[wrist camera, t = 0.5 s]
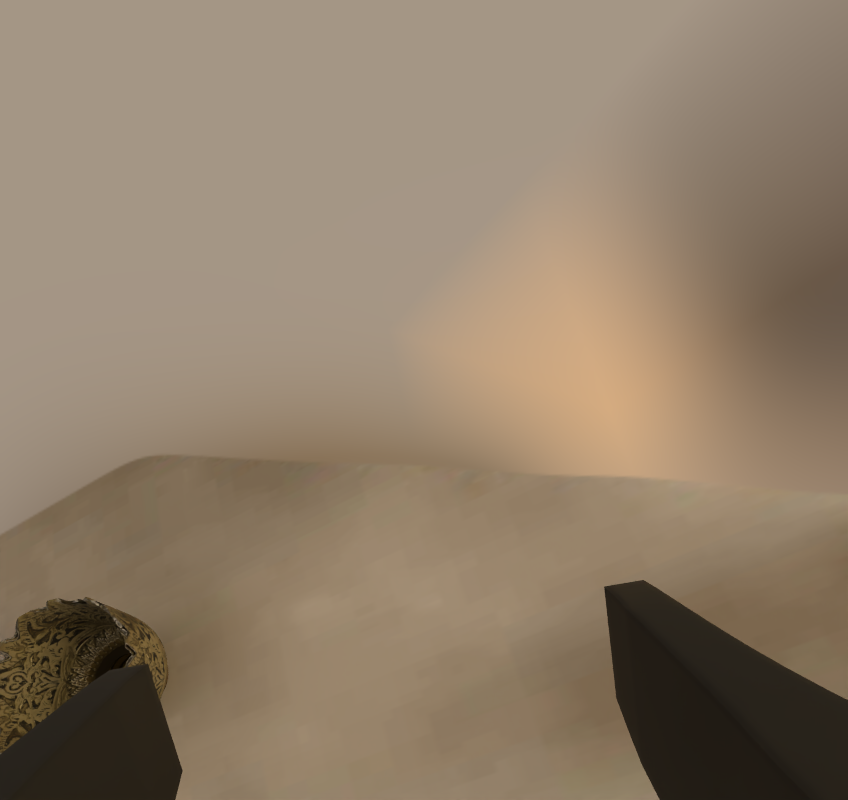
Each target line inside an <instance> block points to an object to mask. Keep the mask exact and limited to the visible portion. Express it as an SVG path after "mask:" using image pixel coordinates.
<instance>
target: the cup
mask: <svg viewBox="0 0 848 800" xmlns="http://www.w3.org/2000/svg"><path fill="white" fill-rule="evenodd" d="M15 629H16V633H15V635H14V637H12V638H11V639H9V638H8V639H5V640H3V641H1V642H0V654H2V655H3V656H4V657H5V659H3V660H0V754H1V753H2V752H4V751H5V750H6V749H7V748H9V747H10V746H11V745H12V744H14V743H15V742H16V741H17V740H19V739H20V738H21V737H22V736H24V735H25V734H26V733H27V732H29V731H30V730H31V729H32V728H34V727H35V726H36V725H37V724H39V723H40V722H41V721H42V720H44V719H45V718H46V717H48V716H49V715H50V714H51V713H53V712H54V711H55V710H56V709H58V708H59V707H60V706H61V705H63V704H64V703H65V702H66V701H68V700H69V699H70V698H72V697H73V696H74V695H76V694H77V693H78V692H79V691H81V690H82V689H83V688H85V687H86V686H87V685H89V684H90V683H92V682H93V681H94V680H96V679H97V678H99V677H100V676H102V675H103V674H105V673H106V672H108V671H109V670H113V669H119V668H125V667H131V666H137V665H143V664H148V665H149V668H150V671H151V674H152V678H153V681H154V684H155V687H156V690H157V693H158V696H159V699H160V698H161V695H162V693H163V691H164V689H165V687H166V684H167V680H168V665H167V658H166V654H165V650H164V647H163V645H162V643H161V641H160V639H159V638H158V636H157V635H156V633H155V632H154V631H153V630H152V629H151V628H150V627H149V626H147V625H146V624H145V623H143V622H142V621H140V620H139V619H137V618H135V617H133V616H131V615H129V614H127V613H124V612H122V611H119V610H117V609H114V608H112V607H109V606H107V605H104V604H102V603H99V602H97V601H95V600H93V599H90V598H87V597H85V598H84V599H83V600H80V599H78V600H76V601H65V600H62V599H53V600H49V601H47V602H46V607H43V608H38V609H34V610H32V611H30V612H27V613H26V614H24V615H22V616H20V617H19V618H18V619H17V622H16V628H15ZM3 653H4V654H5V655H7V656H8V657H7V658H6V656H5V655H4V654H3Z"/></svg>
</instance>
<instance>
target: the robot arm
mask: <svg viewBox="0 0 848 800" xmlns="http://www.w3.org/2000/svg"><path fill="white" fill-rule="evenodd" d="M604 588H605V598H606V607H607V616H608V625H609V634H610V643H611V653H612V662H613V671H614V680H615V689H616V698H617V701H618V704H619V706H620V709H621V712H622V714H623V717H624V720H625V722H626V725H627V728H628V730H629V733H630V736H631V738H632V741H633V743H634V746H635V748H636V751H637V753H638V756H639V758H640V761H641V764H642V766H643V767H644V769H645V771H646V773H647V775H648V777H649V779H650V781H651V783H652V785H653V787H654V789H655V791H656V793H657V795H658V797H659V799H660V800H848V700H846V699H844V698H842V697H840V696H838V695H836V694H834V693H832V692H830V691H829V690H827V689H825V688H823V687H821V686H819V685H817V684H816V683H814V682H812V681H810V680H808V679H806V678H804V677H802V676H801V675H799V674H797V673H795V672H793V671H791V670H789V669H788V668H786V667H784V666H782V665H780V664H779V663H777V662H775V661H773V660H772V659H770V658H768V657H766V656H765V655H763V654H761V653H759V652H758V651H756V650H754V649H753V648H751V647H749V646H748V645H746V644H744V643H743V642H741V641H739V640H738V639H736V638H734V637H733V636H731V635H729V634H728V633H726V632H724V631H723V630H721V629H720V628H718V627H716V626H715V625H713V624H712V623H710V622H708V621H707V620H705V619H704V618H702V617H701V616H699V615H698V614H696V613H694V612H693V611H691V610H690V609H688V608H687V607H685V606H683V605H682V604H680V603H679V602H677V601H676V600H674V599H673V598H671V597H670V596H668V595H667V594H665V593H663V592H662V591H660V590H659V589H657V588H656V587H654V586H652V585H651V584H649V583H647V582H646V581H644V580H641V581H635V582H629V583H623V584H617V585H611V586H605V587H604ZM181 774H182V768H181V765H180V762H179V759H178V755H177V752H176V749H175V746H174V743H173V740H172V737H171V734H170V731H169V727H168V724H167V721H166V718H165V715H164V712H163V709H162V706H161V702H160V699H159V696H158V693H157V690H156V687H155V684H154V681H153V678H152V674H151V671H150V668H149V665H148V664H143V665H137V666H131V667H125V668H119V669H113V670H109V671H108V672H106V673H105V674H103V675H102V676H100V677H99V678H97V679H96V680H94V681H93V682H92V683H90V684H89V685H87V686H86V687H85V688H83V689H82V690H81V691H79V692H78V693H77V694H76V695H74V696H73V697H72V698H70V699H69V700H68V701H66V702H65V703H64V704H63V705H61V706H60V707H59V708H58V709H56V710H55V711H54V712H53V713H51V714H50V715H49V716H48V717H46V718H45V719H44V720H42V721H41V722H40V723H39V724H37V725H36V726H35V727H34V728H32V729H31V730H30V731H29V732H27V733H26V734H25V735H24V736H22V737H21V738H20V739H19V740H17V741H16V742H15V743H14V744H12V745H11V746H10V747H9V748H7V749H6V750H5V751H4V752H2V753H1V754H0V800H175V799H176V794H177V790H178V786H179V782H180V778H181Z"/></svg>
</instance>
